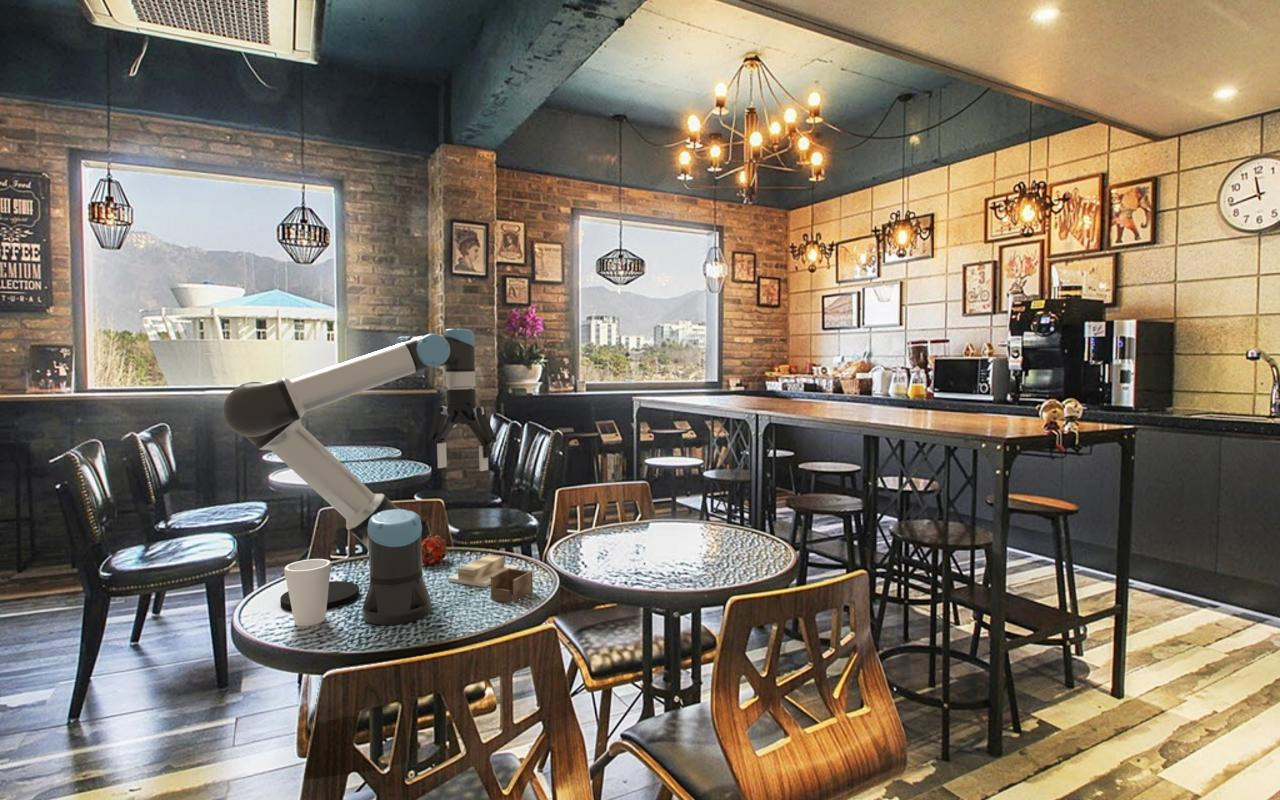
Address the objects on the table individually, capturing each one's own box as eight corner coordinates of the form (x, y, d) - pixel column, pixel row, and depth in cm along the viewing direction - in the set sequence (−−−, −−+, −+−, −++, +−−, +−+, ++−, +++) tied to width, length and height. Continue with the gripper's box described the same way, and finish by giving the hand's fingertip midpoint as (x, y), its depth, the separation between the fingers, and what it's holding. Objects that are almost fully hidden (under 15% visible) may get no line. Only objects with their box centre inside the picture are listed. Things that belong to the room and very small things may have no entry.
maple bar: (473, 581, 179) (473, 570, 178) (458, 579, 181) (458, 568, 180) (504, 566, 191) (504, 556, 191) (489, 564, 193) (489, 554, 193)
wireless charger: (370, 588, 178) (370, 580, 178) (339, 613, 161) (339, 605, 160) (303, 588, 179) (303, 581, 179) (265, 613, 161) (265, 605, 161)
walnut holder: (513, 603, 165) (512, 581, 165) (488, 599, 168) (488, 577, 168) (532, 592, 173) (532, 571, 172) (509, 589, 176) (508, 568, 175)
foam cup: (321, 610, 162) (319, 556, 161) (340, 619, 156) (338, 563, 155) (279, 622, 154) (277, 566, 154) (298, 632, 149) (295, 573, 148)
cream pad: (484, 587, 178) (484, 583, 177) (448, 581, 182) (448, 577, 182) (519, 569, 192) (519, 566, 192) (484, 564, 197) (484, 561, 197)
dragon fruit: (439, 561, 206) (431, 579, 195) (415, 546, 205) (405, 564, 193) (455, 539, 206) (448, 556, 194) (431, 524, 204) (422, 540, 192)
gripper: (509, 388, 176) (510, 469, 177) (433, 387, 186) (435, 464, 187) (491, 389, 169) (493, 473, 170) (413, 388, 179) (415, 468, 180)
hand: (462, 469), depth 179 cm, fingers open, 13 cm apart
